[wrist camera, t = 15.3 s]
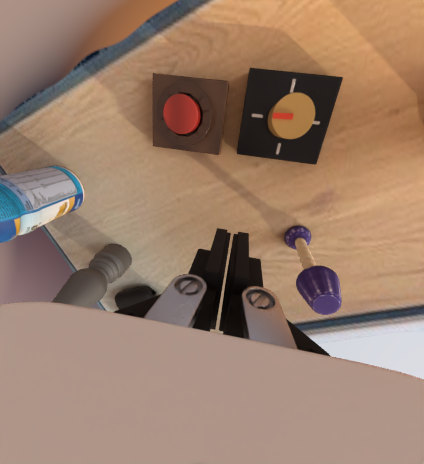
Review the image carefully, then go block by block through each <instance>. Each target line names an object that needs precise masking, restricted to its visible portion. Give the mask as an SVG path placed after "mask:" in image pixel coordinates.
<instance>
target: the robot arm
mask: <svg viewBox="0 0 424 464" xmlns="http://www.w3.org/2000/svg"><path fill="white" fill-rule="evenodd" d="M230 235H231V233H227V230H225V229H218V228H217V231H216V234H215V238H214V241H213V244H212V248H211V251H209V250H203V249H198V252H197V254H196V256H195V259H194V261H193V264H192V266H191V269H190V271H189V274H183V275H179V276H177V277H175V278H174V279H173V280H172V281H171V283H170V284H169V285H168V287H167V288H166V289H165V290H164V292H163V293H162V294H160V295H158V296H155V297H152V298H150V299H147V300H144V301H141V302H139V303H136V304H133V305H131V306H128V307H125V308H123V309H120V310H117V311H115V312H108V311H103V310H98V309H93V308H87V307H81V306H75V305H69V304H62V303H52V302H19V303H8V304H2V305H0V464H424V380H423V379H420V378H418V377H414V376H411V375H408V374H405V373H401V372H398V371H393V370H389V369H385V368H380V367H377V366H372V365H368V364H364V363H360V362H355V361H349V360H345V359H341V358H336V357H331V356H330V355H329V354H328V353H327V352H326V351H324V350H323V349H322V348H321V347H320V346H319V345H317V344H316V343H315V342H314V341H312V340H311V339H310V338H309V337H308V336H306V335H305V334H304V333H303V332H302V331H300V330H299V329H298V328H297V327H295V326H294V325H293V324H292V323H291V322H289V321H288V320H287V319H286V318H285V315H284V313H283V310H282V308H281V305H280V302H279V300H278V298H277V297H276V295H275V294H274V293H273V292H271V291H270V290H268V289H266V288H263V280H262V270H261V261H260V259H256V258H250V257H249V234H248V233H243V232H238V234H234V236H233V242H232V248H231V253H230V259H229V265H228V271H227V277H226V283H225V290H224V298H223V305H222V312H221V319H220V326H219V330H220V331H223V334H219V333H214V332H210V329H215V327H216V321H217V315H218V309H219V303H220V297H221V291H222V285H223V279H224V273H225V267H226V260H227V254H228V248H229V241H230Z"/></svg>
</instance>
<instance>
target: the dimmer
mask: <svg viewBox="0 0 424 464" xmlns="http://www.w3.org/2000/svg"><path fill="white" fill-rule="evenodd" d="M342 79H343V77H336V76H326V75H316V74H306V73H296V72H286V71H276V70H266V69H256V68H250V70H249V76H248V83H247V89H246V96H245V103H244V109H243V116H242V122H241V129H240V135H239V142H238V149H237V154H241V155H248V156H255V157H263V158H270V159H278V160H285V161H293V162H300V163H308V164H316V163H317V160H318V157H319V154H320V150H321V147H322V144H323V141H324V137H325V134H326V131H327V128H328V124H329V121H330V118H331V115H332V111H333V108H334V105H335V102H336V98H337V95H338V92H339V89H340V85H341V82H342ZM291 93H303V94H305V95H307V96H308V97H309V98H310V99H311V100H312V102H313V104H314V107H315V118H314V121H313V124H312V126H311V127H310V129H309V130H308V131H307V132H306V133H305V134H304V135H302V136H300V137H298V138H295V139H285V138H280V137H277V136H275V135H274V134H273V133H272V132H271V131H270V129H269V127H268V115H269V112H270V110H271V109H272V107H273V106H274V105H275V104H276V103H277V102H278V101H280V100H281V99H282V98H283V97H284V96H286V95H288V94H291Z"/></svg>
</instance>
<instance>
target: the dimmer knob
mask: <svg viewBox="0 0 424 464" xmlns="http://www.w3.org/2000/svg"><path fill="white" fill-rule="evenodd" d="M314 118H315V107H314V104H313V102H312V100H311V99H310V98H309V97H308V96H307V95H305V94H303V93H291V94H288V95H286V96H284V97H283V98H282V99H281V100H280V101H278V102H277V103H276V104H275V105H274V106H273V107H272V109H271V110H270V112H269V115H268V127H269V129H270V131H271V132H272V133H273V134H274V135H275V136H277V137H280V138H285V139H295V138H298V137H300V136H302V135H304V134H305V133H306V132H307V131H308V130H309V129H310V127H311V126H312V124H313V121H314Z"/></svg>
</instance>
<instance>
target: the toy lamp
mask: <svg viewBox="0 0 424 464" xmlns="http://www.w3.org/2000/svg"><path fill="white" fill-rule="evenodd" d="M310 241H311V234H310V231H309V230H308V229H307V228H306V227H303V226H294V227H292V228H290V229H289V230H288V231H287V232H286V234H285V242H286V244H287V245H288V246H289V247H291V248H293V249H297V251H298V255H299V257H300V261H301V263H302V266H303V268H304V270H303V271H302V272H301V273H300V274H299V275H298V278H297V280H296V286H297V289H298V291H299V293H300V294H301V295H302V297H303V298H304V299H305V301H306V302H307V303H308V305H309V306H310V307H311V308H312V310H314V311H315V312H316V313H319V314H322V315H329V314H333V313H335V312H336V311H338V310H339V308H340V306H341V290H340V282H339V278H338V276H337V274H336V273H335V272H334V271H333V270H331V269H330V268H327V267H325V266H316V263H315V261H314V260H313V256H312V255H311V252H310V250H309V248H308V244H309V243H310Z"/></svg>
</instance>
